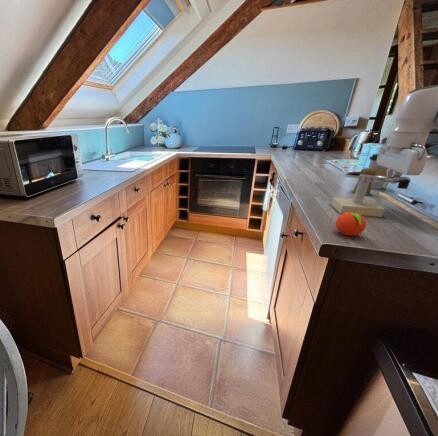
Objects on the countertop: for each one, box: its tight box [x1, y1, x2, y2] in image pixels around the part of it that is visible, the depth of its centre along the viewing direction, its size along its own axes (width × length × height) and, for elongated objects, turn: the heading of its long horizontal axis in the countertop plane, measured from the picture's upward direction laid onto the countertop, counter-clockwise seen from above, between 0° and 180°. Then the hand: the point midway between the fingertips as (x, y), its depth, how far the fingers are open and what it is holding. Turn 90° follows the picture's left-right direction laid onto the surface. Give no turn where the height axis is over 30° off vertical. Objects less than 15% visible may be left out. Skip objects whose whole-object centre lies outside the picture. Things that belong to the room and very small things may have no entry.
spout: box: [357, 173, 411, 190], centre depth 84 cm, size 14×4×4 cm, turn 71°
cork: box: [352, 167, 376, 196], centre depth 106 cm, size 6×6×11 cm
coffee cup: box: [368, 153, 388, 190], centre depth 113 cm, size 9×9×15 cm
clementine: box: [335, 212, 367, 237], centre depth 70 cm, size 8×7×7 cm
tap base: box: [330, 181, 386, 218], centre depth 87 cm, size 12×10×11 cm
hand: (390, 182), depth 85 cm, fingers closed
